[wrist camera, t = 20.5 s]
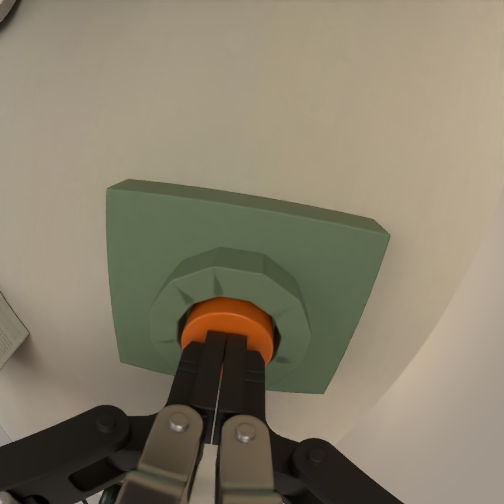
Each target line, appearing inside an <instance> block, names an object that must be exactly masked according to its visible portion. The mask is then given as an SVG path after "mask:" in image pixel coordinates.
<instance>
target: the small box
mask: <svg viewBox="0 0 504 504" xmlns="http://www.w3.org/2000/svg"><path fill="white" fill-rule="evenodd" d="M28 335H29V332H28V331H27V329H26V328H25V327H24V326H23V324H22V323H21V322H20V320H19V319H18V318H17V316H16V315H15V314H14V312H13V311H12V309H11V308H10V306H9V305H8V304H7V302H6V301H5V299H4V298H3V296H2V295H1V293H0V370H1V369H2V367H3V366H4V365H5V364H6V362H7V361H8V360H9V359H10V357H11V356H12V355H13V354H14V352H15V351H16V350H17V349H18V347H19V346H20V345H21V344H22V343H23V342H24V340H25V339H26V338H27V337H28Z"/></svg>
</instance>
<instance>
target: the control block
mask: <svg viewBox="0 0 504 504" xmlns="http://www.w3.org/2000/svg"><path fill="white" fill-rule="evenodd" d="M106 236H107V258H108V272H109V284H110V295H111V304H112V312H113V320H114V327H115V333H116V340H117V346H118V351H119V357H120V362H122V363H125V364H129V365H133V366H136V367H140V368H144V369H148V370H152V371H156V372H161V373H165V374H169V375H174V376H175V374H176V371H177V368H178V364H179V362H180V358H181V355H182V352H183V349H182V345H181V337H182V333H183V330H184V327H185V325H186V322H187V319H188V316H189V313H190V311H191V308H192V306H193V305H194V303H198V302H201V301H204V300H208V299H211V298H215V297H218V296H221V297H227V298H233V299H240V300H246V301H250V302H252V303H253V304H255V305H256V306H257V307H259V308H260V309H262V310H263V311H265V312H266V313H268V314H269V315H271V318H272V328H273V354H272V357H271V359H270V361H269V363H268V364H267V365H266V367H265V390H270V391H281V392H294V393H310V394H324V393H325V391H326V389H327V387H328V385H329V383H330V381H331V379H332V377H333V375H334V374H335V372H336V370H337V368H338V365H339V363H340V361H341V359H342V357H343V355H344V353H345V351H346V349H347V347H348V344H349V342H350V340H351V338H352V336H353V333H354V331H355V329H356V327H357V324H358V322H359V320H360V317H361V315H362V312H363V310H364V308H365V305H366V303H367V300H368V298H369V295H370V293H371V290H372V287H373V285H374V282H375V279H376V277H377V274H378V271H379V268H380V266H381V263H382V260H383V257H384V254H385V251H386V248H387V245H388V242H389V239H390V234H389V233H388V232H387V231H386V230H385V229H384V228H382V227H381V226H380V225H379V224H378V223H377V222H376V221H375V220H373V219H370V218H366V217H361V216H357V215H352V214H347V213H343V212H338V211H333V210H328V209H323V208H318V207H313V206H308V205H303V204H298V203H292V202H287V201H281V200H276V199H270V198H264V197H258V196H252V195H246V194H240V193H233V192H227V191H220V190H213V189H206V188H199V187H192V186H184V185H176V184H168V183H160V182H151V181H142V180H132V179H127V180H125V181H122V182H120V183H118V184H115V185H113V186H111V187H109V188H107V190H106ZM220 386H221V378H220V381H219V388H218V390H220Z"/></svg>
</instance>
